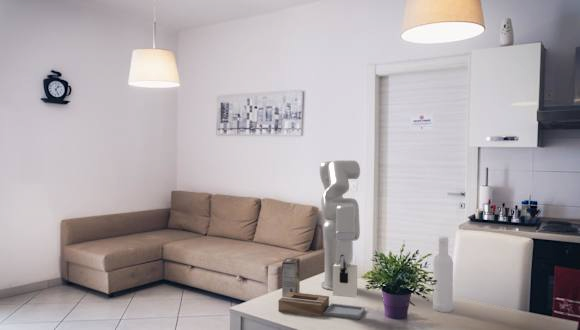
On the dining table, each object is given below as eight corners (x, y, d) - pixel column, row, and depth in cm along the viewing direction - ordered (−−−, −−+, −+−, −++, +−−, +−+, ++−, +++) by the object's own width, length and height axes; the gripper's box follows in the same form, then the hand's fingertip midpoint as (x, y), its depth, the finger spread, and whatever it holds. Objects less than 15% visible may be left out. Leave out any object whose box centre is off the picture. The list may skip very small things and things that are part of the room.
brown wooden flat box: (288, 302, 207) (288, 290, 206) (328, 306, 200) (328, 295, 200) (278, 311, 195) (278, 299, 195) (321, 316, 189) (321, 303, 189)
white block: (335, 292, 196) (335, 263, 196) (357, 294, 193) (357, 265, 192) (332, 295, 192) (333, 265, 192) (355, 297, 189) (355, 267, 189)
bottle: (455, 312, 194) (456, 239, 192) (436, 312, 194) (437, 239, 192) (448, 305, 202) (449, 235, 200) (430, 306, 202) (430, 235, 200)
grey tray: (331, 306, 201) (331, 303, 201) (364, 310, 196) (364, 307, 196) (324, 315, 190) (324, 311, 190) (359, 319, 186) (359, 315, 186)
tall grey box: (286, 292, 221) (286, 257, 220) (299, 292, 220) (299, 258, 219) (281, 298, 212) (281, 262, 211) (296, 299, 211) (296, 263, 210)
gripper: (341, 232, 201) (340, 275, 201) (330, 238, 185) (330, 285, 186) (358, 233, 198) (358, 276, 199) (349, 240, 183) (349, 287, 183)
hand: (345, 280), depth 192 cm, fingers closed on white block, 4 cm apart
